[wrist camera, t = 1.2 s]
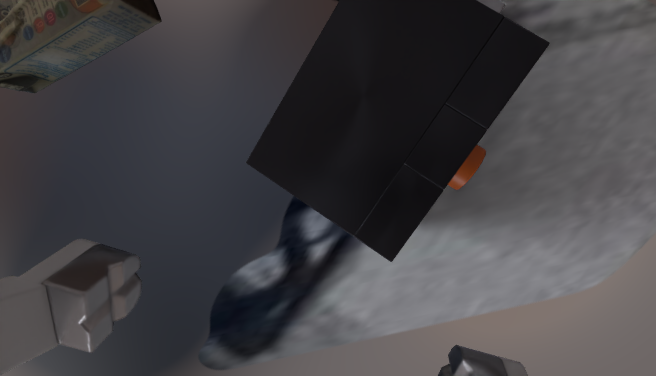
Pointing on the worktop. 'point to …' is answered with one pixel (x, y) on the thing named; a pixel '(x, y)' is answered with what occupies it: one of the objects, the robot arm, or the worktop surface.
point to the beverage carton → (63, 36)
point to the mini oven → (392, 110)
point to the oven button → (468, 168)
